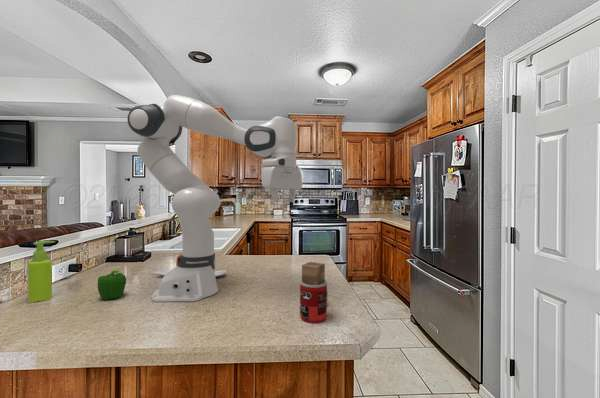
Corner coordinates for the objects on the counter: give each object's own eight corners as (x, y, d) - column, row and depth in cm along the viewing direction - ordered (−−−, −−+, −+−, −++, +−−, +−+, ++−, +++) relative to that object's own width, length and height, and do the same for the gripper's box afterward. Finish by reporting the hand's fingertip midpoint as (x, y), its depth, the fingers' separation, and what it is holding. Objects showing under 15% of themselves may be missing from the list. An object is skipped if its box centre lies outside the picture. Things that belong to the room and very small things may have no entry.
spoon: (161, 273, 128) (161, 265, 128) (229, 274, 127) (229, 266, 127) (150, 279, 119) (150, 271, 119) (223, 280, 118) (223, 272, 118)
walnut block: (316, 285, 78) (316, 267, 78) (301, 282, 81) (301, 265, 81) (324, 280, 82) (324, 263, 82) (310, 277, 85) (310, 261, 85)
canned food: (298, 312, 85) (299, 277, 85) (324, 312, 86) (324, 277, 86) (301, 324, 78) (301, 285, 78) (328, 323, 78) (329, 285, 78)
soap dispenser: (58, 296, 97) (58, 240, 97) (33, 303, 91) (33, 243, 91) (50, 294, 100) (49, 239, 100) (24, 300, 94) (24, 242, 93)
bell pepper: (95, 297, 97) (94, 269, 97) (122, 291, 103) (121, 265, 103) (100, 304, 91) (100, 274, 91) (128, 297, 97) (128, 269, 97)
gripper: (292, 166, 108) (292, 201, 108) (258, 160, 90) (258, 202, 90) (306, 165, 104) (306, 201, 105) (273, 159, 87) (273, 202, 87)
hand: (283, 202), depth 97 cm, fingers open, 8 cm apart
